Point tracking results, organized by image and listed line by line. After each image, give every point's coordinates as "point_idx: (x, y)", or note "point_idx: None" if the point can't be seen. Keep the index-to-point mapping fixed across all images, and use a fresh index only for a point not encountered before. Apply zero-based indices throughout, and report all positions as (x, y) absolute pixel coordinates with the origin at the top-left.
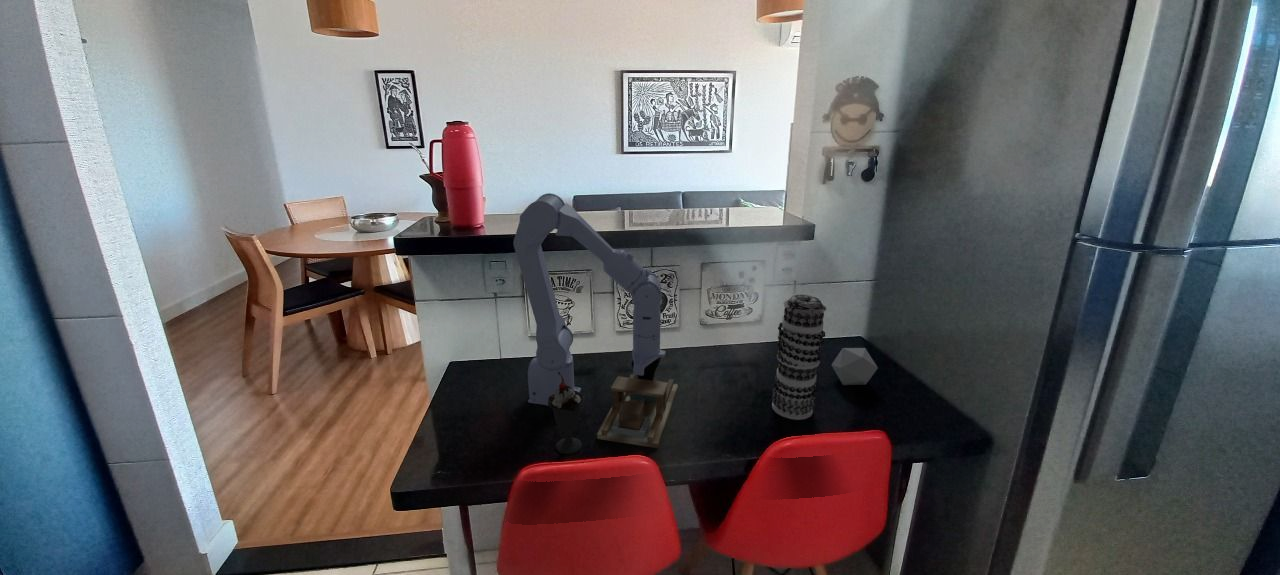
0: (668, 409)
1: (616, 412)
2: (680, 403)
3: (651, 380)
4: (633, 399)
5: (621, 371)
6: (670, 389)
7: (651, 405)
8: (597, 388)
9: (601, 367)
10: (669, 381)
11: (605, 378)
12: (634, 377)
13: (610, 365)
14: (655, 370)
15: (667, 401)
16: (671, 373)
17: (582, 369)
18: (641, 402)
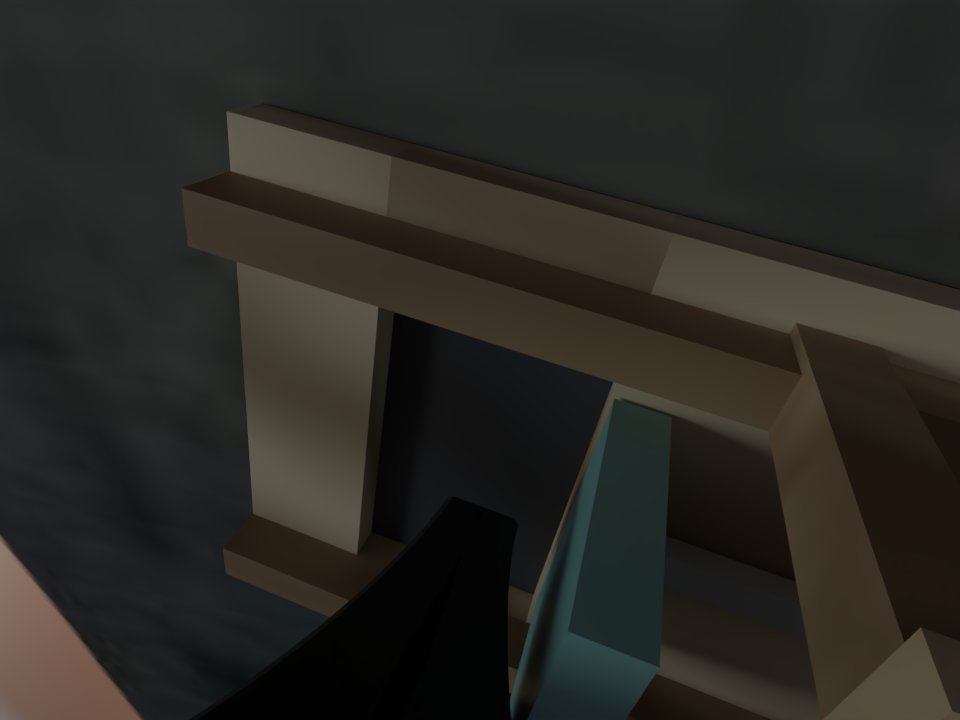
0: (874, 302)
1: None
2: (607, 80)
3: (535, 698)
4: None
5: (161, 537)
6: (416, 248)
7: (722, 478)
8: None
9: (164, 620)
10: (246, 251)
11: (273, 630)
12: (259, 549)
13: (123, 576)
14: (298, 680)
15: (646, 290)
16: (15, 161)
17: (219, 695)
18: (699, 586)
